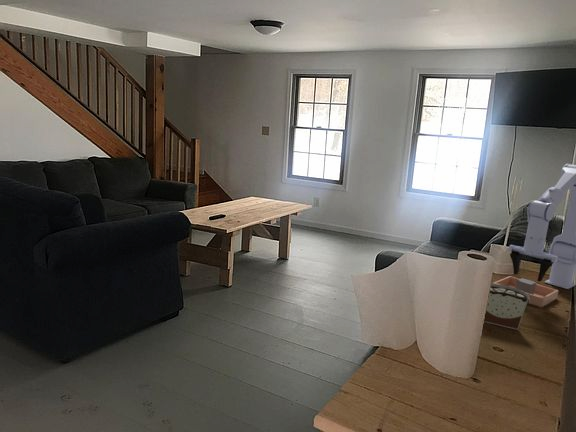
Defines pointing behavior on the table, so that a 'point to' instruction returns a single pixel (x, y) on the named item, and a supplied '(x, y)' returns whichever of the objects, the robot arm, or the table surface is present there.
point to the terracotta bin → (540, 294)
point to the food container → (506, 306)
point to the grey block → (526, 285)
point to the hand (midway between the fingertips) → (527, 277)
